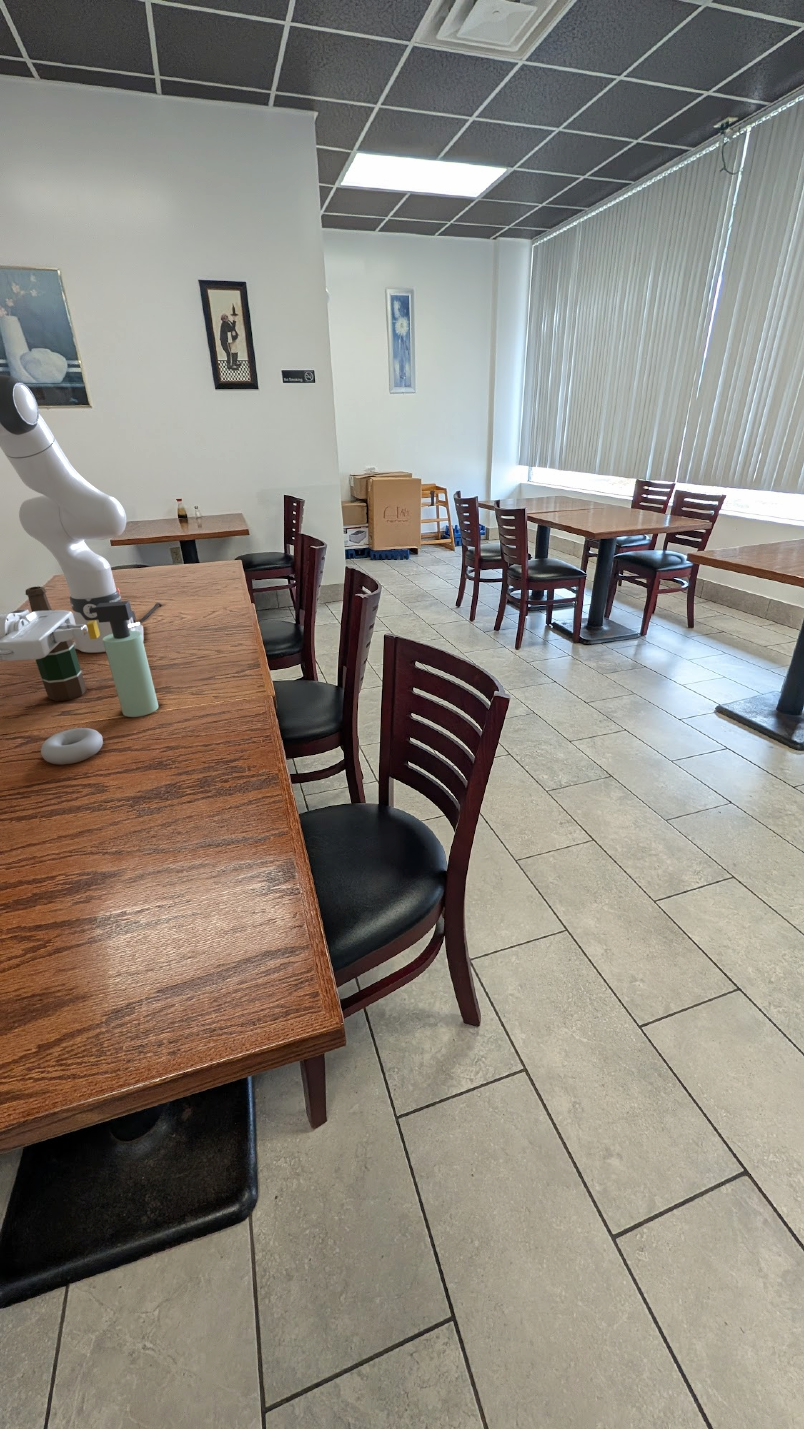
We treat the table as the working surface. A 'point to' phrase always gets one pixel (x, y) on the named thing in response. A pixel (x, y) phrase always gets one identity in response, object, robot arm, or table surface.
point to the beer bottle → (57, 659)
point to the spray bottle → (127, 660)
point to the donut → (71, 746)
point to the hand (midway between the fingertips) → (85, 630)
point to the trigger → (93, 629)
